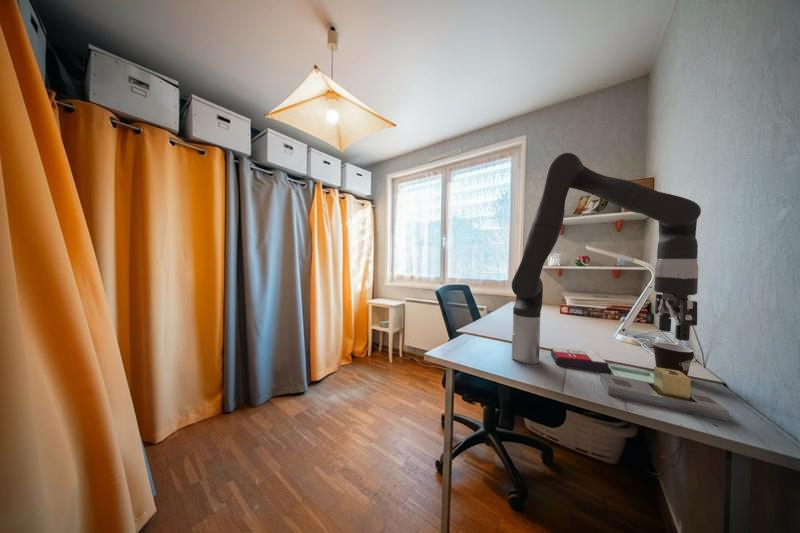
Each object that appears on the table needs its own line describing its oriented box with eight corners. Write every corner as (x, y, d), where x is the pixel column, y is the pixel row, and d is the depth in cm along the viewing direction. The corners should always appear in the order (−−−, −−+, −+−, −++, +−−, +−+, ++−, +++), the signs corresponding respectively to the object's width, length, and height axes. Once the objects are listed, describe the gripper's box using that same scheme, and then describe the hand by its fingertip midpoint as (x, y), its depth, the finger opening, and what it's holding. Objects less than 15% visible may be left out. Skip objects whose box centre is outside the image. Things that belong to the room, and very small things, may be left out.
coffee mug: (663, 380, 75) (664, 349, 74) (645, 368, 83) (646, 341, 82) (714, 387, 71) (715, 355, 70) (690, 374, 79) (691, 345, 78)
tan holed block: (661, 403, 63) (663, 373, 62) (653, 394, 67) (654, 366, 67) (689, 409, 60) (690, 378, 60) (678, 399, 64) (679, 370, 64)
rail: (608, 394, 66) (608, 385, 66) (599, 380, 74) (600, 372, 74) (728, 421, 56) (728, 410, 56) (703, 401, 64) (704, 392, 64)
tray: (617, 382, 73) (617, 378, 73) (606, 368, 83) (606, 364, 83) (668, 393, 67) (668, 387, 67) (650, 376, 77) (650, 371, 77)
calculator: (550, 346, 95) (596, 350, 89) (550, 356, 95) (596, 361, 89) (556, 356, 85) (608, 361, 79) (556, 368, 85) (609, 374, 79)
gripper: (644, 274, 71) (642, 326, 71) (669, 276, 58) (667, 340, 59) (680, 275, 67) (677, 330, 68) (715, 278, 55) (712, 346, 55)
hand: (672, 335), depth 63 cm, fingers open, 8 cm apart
